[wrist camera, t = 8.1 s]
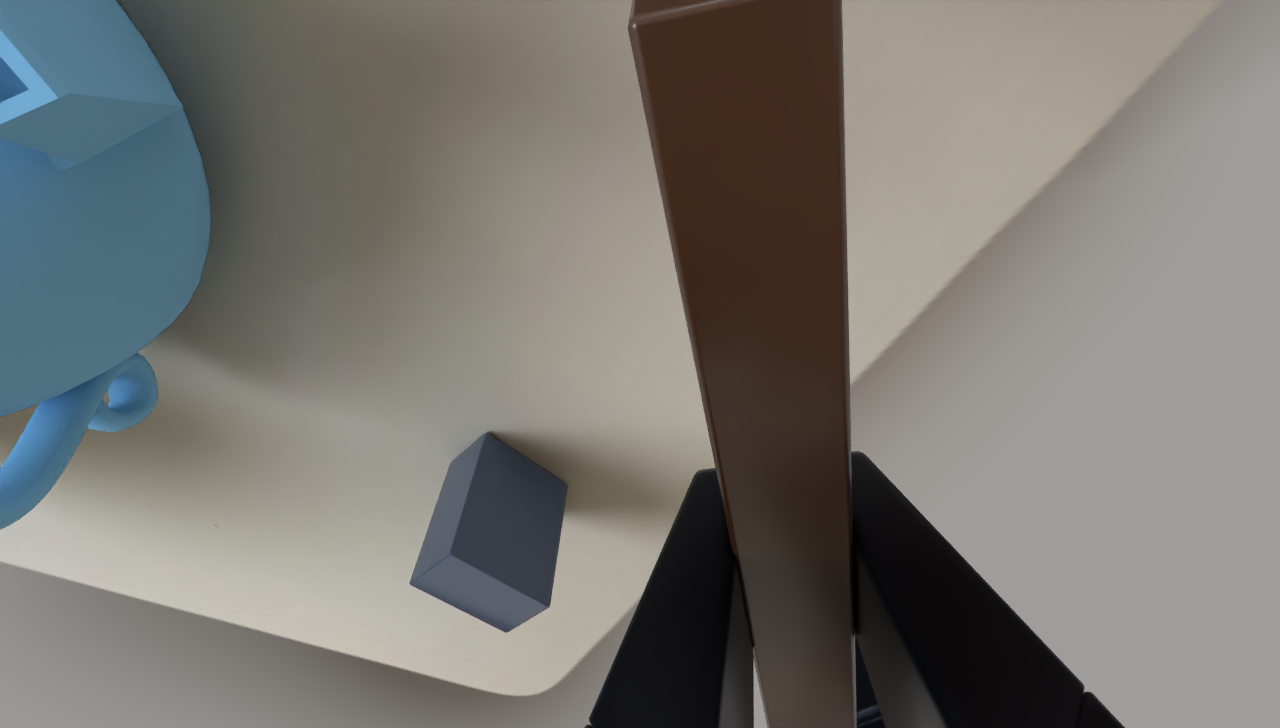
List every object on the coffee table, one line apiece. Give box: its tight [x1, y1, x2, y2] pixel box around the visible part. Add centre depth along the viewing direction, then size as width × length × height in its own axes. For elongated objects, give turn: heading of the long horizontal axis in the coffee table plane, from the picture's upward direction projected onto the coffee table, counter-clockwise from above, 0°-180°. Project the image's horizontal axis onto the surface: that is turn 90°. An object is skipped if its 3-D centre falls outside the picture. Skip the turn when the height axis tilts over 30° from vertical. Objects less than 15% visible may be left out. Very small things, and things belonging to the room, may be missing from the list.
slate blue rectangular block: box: [410, 433, 568, 633], centre depth 24 cm, size 4×2×5 cm, turn 46°
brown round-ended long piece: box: [628, 0, 857, 728], centre depth 8 cm, size 14×4×7 cm, turn 12°
